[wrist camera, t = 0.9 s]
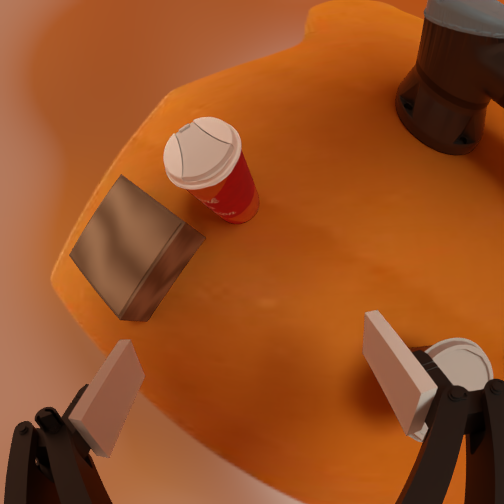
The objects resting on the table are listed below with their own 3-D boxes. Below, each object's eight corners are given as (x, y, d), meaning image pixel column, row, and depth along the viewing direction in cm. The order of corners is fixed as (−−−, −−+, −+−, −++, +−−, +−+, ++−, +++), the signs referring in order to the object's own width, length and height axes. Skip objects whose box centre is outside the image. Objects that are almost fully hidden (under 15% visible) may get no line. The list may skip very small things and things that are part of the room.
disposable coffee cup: (367, 410, 27) (388, 452, 16) (381, 332, 29) (413, 338, 18) (437, 409, 25) (481, 441, 14) (450, 334, 27) (504, 336, 16)
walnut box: (143, 191, 42) (120, 173, 36) (205, 237, 37) (184, 222, 31) (95, 263, 41) (67, 254, 35) (147, 321, 36) (118, 319, 30)
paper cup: (201, 199, 39) (148, 145, 25) (248, 168, 38) (213, 100, 25) (228, 244, 36) (177, 201, 23) (279, 210, 36) (254, 148, 22)
